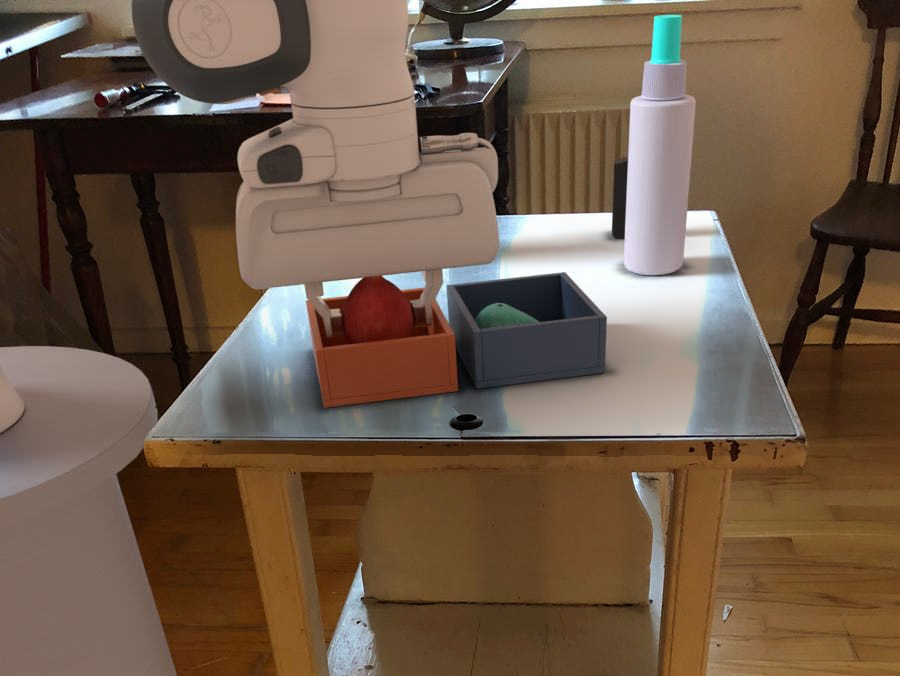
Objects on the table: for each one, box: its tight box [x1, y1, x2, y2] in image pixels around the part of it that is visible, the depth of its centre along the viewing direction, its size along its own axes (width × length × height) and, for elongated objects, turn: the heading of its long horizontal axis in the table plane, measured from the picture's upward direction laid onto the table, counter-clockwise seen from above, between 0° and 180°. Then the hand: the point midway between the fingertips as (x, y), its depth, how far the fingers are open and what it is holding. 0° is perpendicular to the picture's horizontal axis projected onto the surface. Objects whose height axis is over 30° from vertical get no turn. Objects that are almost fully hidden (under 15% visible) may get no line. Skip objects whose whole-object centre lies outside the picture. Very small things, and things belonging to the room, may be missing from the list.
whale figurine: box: [475, 303, 539, 329], centre depth 81 cm, size 6×7×4 cm
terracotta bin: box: [305, 286, 459, 409], centre depth 80 cm, size 11×12×5 cm
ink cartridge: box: [611, 156, 628, 240], centre depth 108 cm, size 5×2×8 cm, turn 84°
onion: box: [341, 276, 414, 344], centre depth 79 cm, size 6×6×8 cm
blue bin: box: [446, 271, 608, 389], centre depth 82 cm, size 11×12×5 cm
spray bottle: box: [623, 14, 697, 276], centre depth 94 cm, size 6×6×22 cm
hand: (378, 329), depth 80 cm, fingers closed on onion, 6 cm apart
